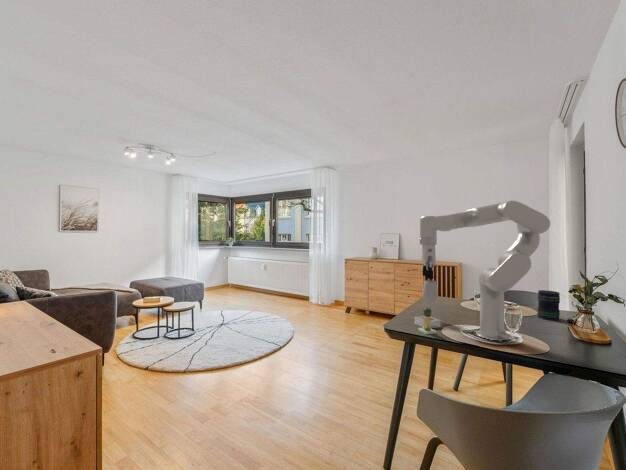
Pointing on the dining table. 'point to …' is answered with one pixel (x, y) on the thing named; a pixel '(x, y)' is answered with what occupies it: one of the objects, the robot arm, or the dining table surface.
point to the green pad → (427, 331)
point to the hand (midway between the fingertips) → (427, 277)
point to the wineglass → (430, 291)
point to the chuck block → (434, 322)
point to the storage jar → (548, 305)
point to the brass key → (427, 319)
